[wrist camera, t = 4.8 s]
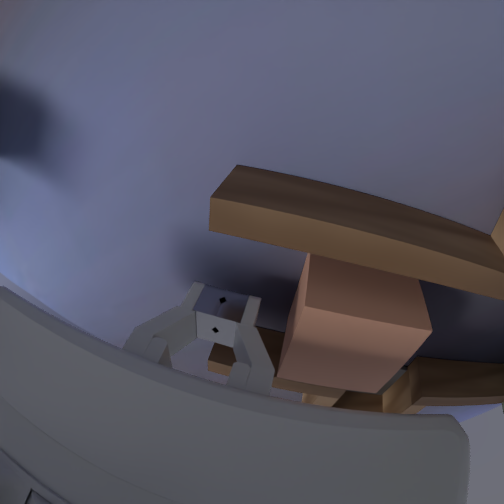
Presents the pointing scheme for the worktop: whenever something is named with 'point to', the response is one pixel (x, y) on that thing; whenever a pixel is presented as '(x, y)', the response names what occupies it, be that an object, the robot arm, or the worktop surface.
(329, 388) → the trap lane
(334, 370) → the terracotta block
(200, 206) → the worktop surface
